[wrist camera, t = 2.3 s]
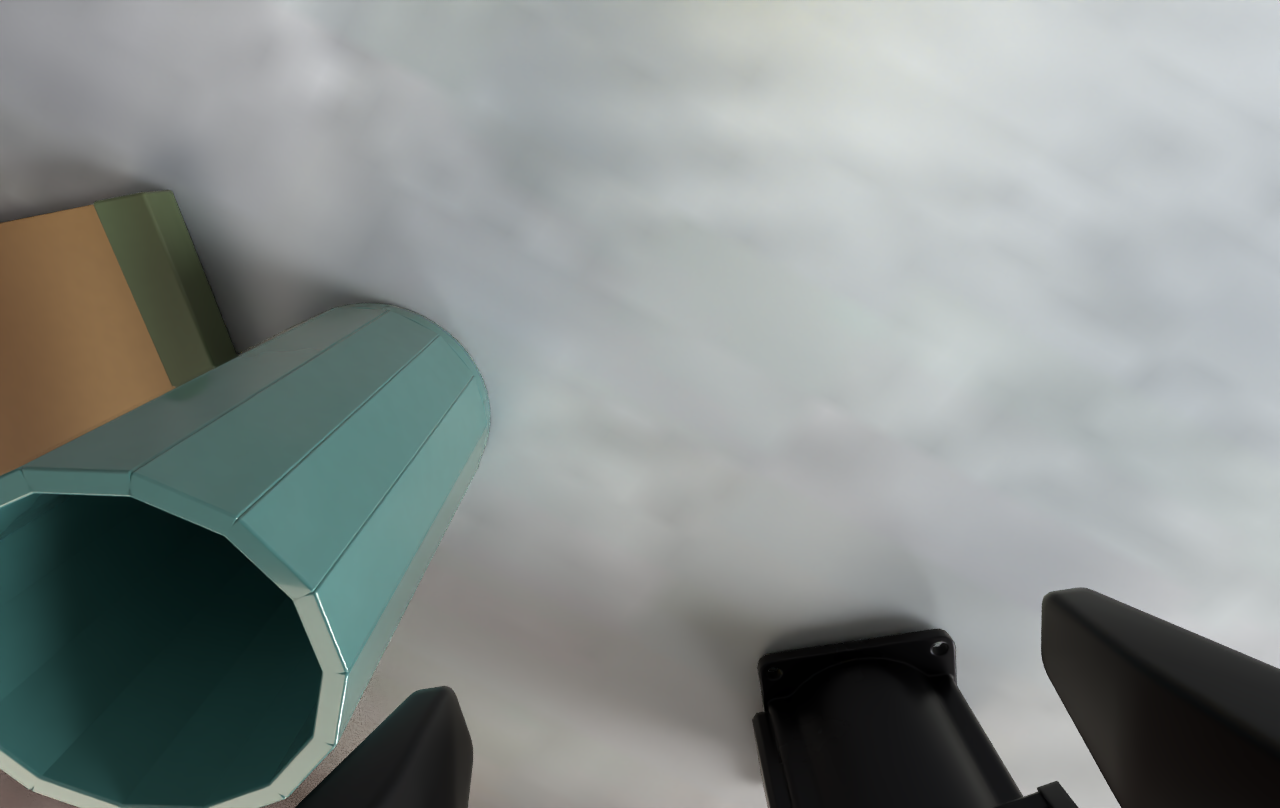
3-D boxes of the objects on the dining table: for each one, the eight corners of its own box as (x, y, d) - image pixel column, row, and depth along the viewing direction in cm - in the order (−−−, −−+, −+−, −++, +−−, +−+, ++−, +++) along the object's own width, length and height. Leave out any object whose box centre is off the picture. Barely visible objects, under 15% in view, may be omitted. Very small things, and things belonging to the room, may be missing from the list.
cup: (457, 281, 19) (249, 427, 9) (514, 488, 22) (399, 799, 11) (239, 321, 20) (-202, 507, 9) (316, 521, 22) (28, 851, 12)
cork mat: (172, 189, 18) (142, 191, 17) (342, 620, 23) (327, 644, 22) (-283, 280, 19) (-340, 288, 18) (-30, 679, 24) (-63, 705, 23)
